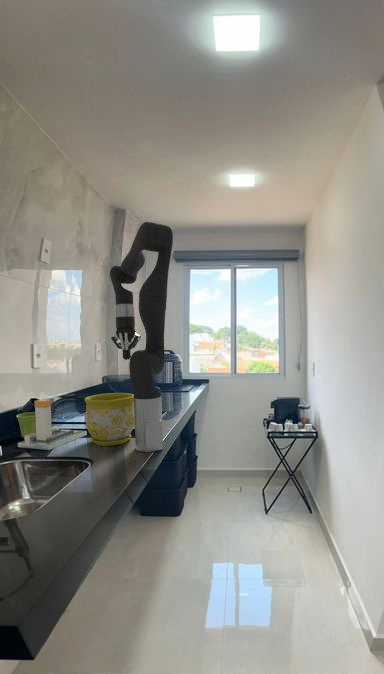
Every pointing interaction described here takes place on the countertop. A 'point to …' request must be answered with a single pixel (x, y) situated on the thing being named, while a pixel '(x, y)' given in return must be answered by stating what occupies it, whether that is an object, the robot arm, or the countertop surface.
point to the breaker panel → (51, 439)
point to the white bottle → (43, 419)
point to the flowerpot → (110, 418)
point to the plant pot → (27, 423)
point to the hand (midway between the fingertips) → (126, 359)
